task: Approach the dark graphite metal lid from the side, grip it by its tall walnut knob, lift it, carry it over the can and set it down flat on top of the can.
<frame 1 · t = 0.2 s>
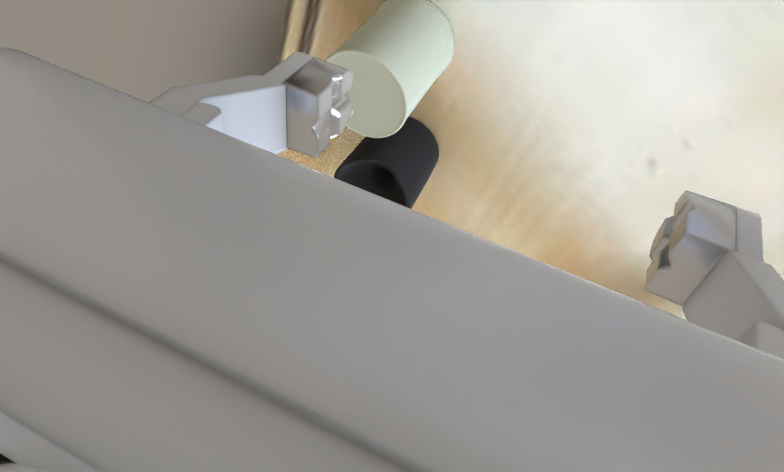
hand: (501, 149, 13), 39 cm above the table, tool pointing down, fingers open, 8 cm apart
pen holder: (408, 142, 68), on the table
can: (414, 37, 58), on the table
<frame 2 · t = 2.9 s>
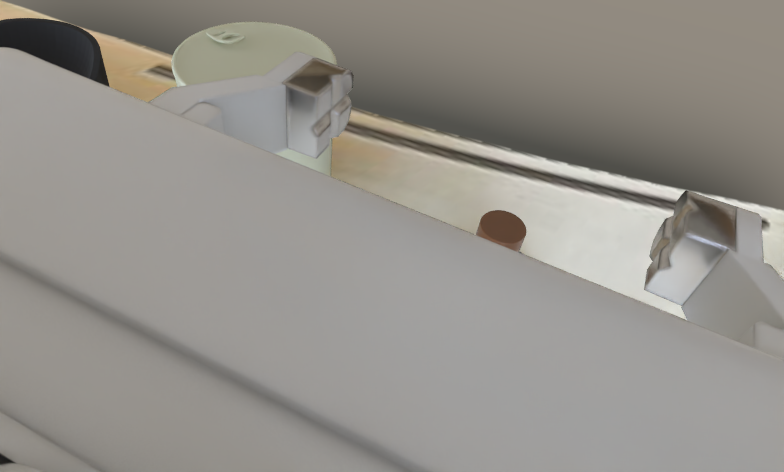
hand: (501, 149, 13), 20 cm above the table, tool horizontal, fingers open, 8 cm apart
lid: (476, 301, 36), on the table
pen holder: (65, 190, 39), on the table
can: (267, 208, 40), on the table
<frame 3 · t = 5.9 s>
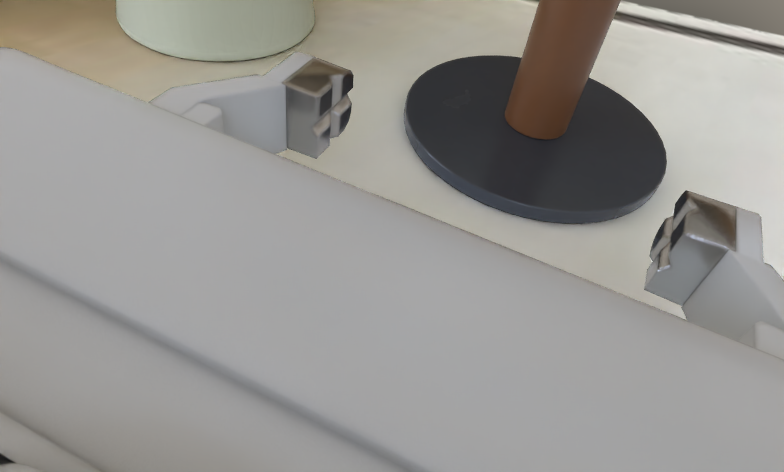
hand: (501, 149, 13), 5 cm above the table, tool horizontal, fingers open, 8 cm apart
lid: (530, 133, 23), on the table
can: (220, 18, 27), on the table
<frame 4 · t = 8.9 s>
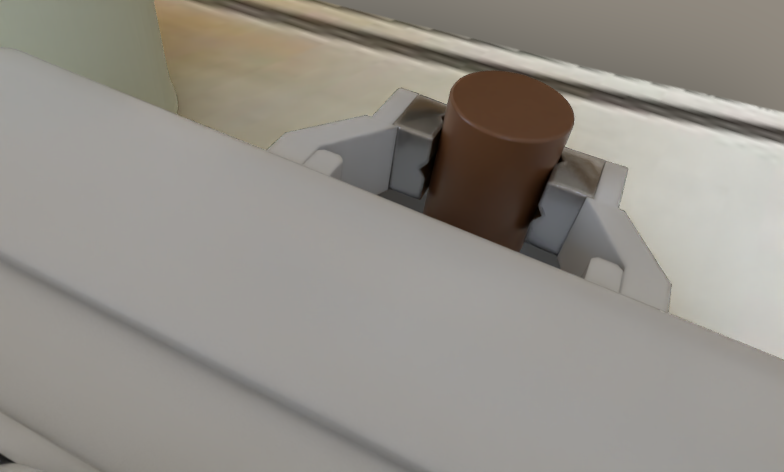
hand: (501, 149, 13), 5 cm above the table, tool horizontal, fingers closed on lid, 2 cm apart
lid: (447, 306, 16), on the table, touching gripper
can: (46, 118, 20), on the table
when the fingers open (17 cm above the table, at t = 15.6 s): lid stays where it is, resting on can.
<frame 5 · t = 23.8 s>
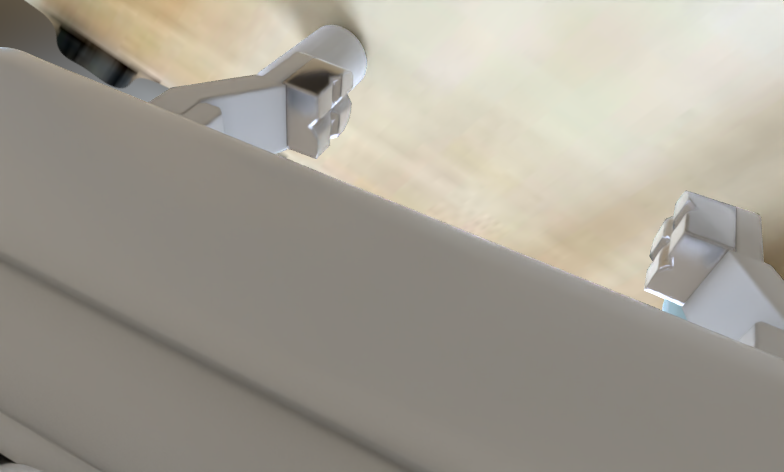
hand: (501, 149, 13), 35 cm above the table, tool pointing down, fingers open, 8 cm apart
beverage can: (342, 52, 56), on the table
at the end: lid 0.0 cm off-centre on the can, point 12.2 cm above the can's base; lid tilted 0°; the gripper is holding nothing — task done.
